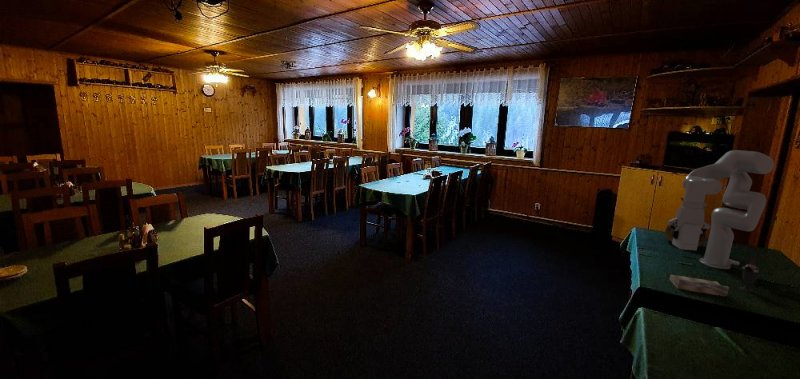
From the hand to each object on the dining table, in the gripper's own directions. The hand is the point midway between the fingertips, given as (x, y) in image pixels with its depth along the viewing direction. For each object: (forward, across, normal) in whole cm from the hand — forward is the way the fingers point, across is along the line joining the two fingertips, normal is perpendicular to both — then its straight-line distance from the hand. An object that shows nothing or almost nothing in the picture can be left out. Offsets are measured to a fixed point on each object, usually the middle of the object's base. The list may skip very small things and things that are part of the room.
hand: (685, 239), depth 166 cm
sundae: (+20, -25, +4) cm, 32 cm away
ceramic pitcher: (+20, -21, -57) cm, 64 cm away
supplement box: (+4, 0, 0) cm, 4 cm away
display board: (+19, -4, +11) cm, 23 cm away
